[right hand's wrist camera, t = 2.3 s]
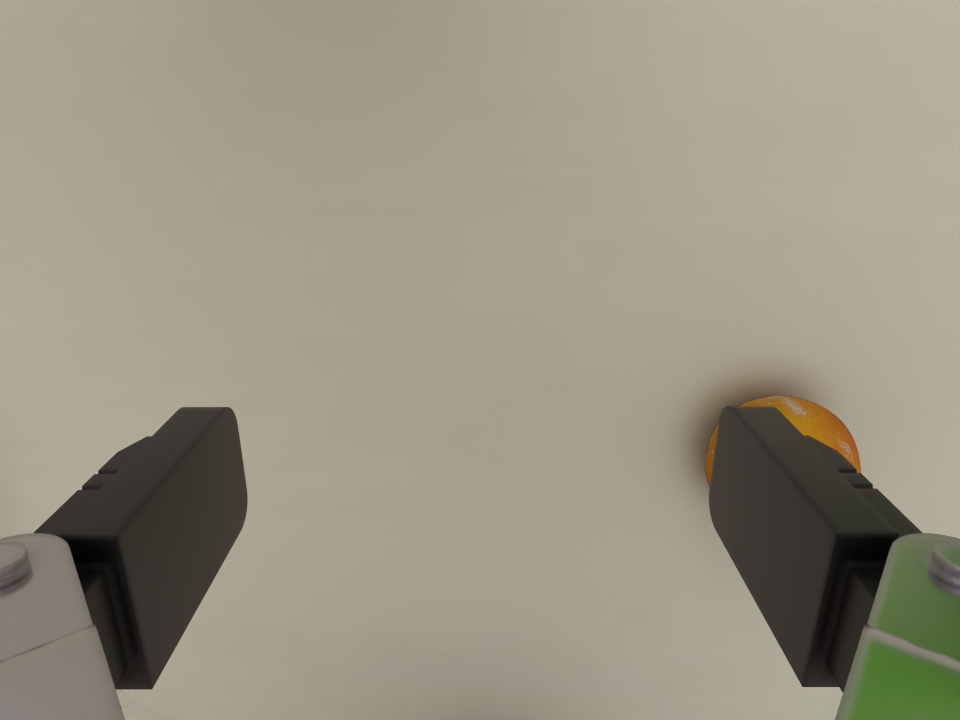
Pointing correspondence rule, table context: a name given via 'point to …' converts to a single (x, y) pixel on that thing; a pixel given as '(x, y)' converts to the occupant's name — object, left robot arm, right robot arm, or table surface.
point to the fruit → (803, 427)
